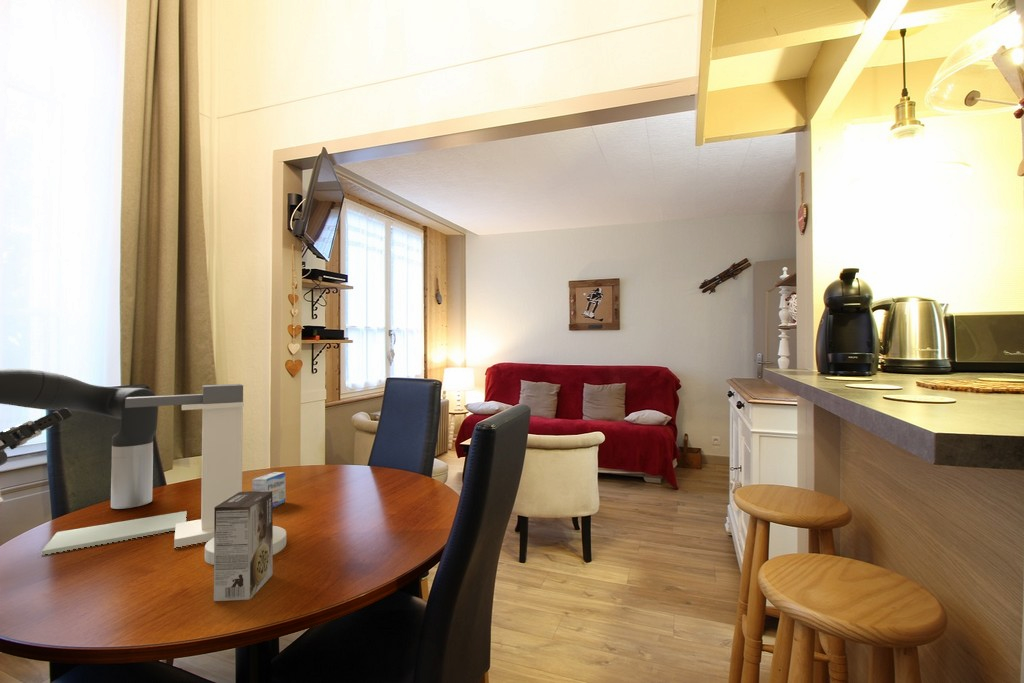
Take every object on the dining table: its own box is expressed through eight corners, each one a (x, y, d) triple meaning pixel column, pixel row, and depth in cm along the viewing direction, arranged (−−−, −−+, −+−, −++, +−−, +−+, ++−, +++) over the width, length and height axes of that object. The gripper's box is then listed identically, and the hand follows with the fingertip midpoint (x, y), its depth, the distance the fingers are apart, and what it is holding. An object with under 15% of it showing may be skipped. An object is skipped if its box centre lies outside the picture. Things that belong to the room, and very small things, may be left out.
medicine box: (266, 511, 125) (266, 479, 125) (251, 510, 126) (252, 478, 126) (285, 502, 133) (286, 472, 133) (272, 501, 133) (272, 471, 134)
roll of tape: (300, 547, 102) (300, 533, 102) (225, 574, 89) (226, 559, 89) (263, 532, 111) (264, 520, 111) (191, 555, 98) (191, 542, 98)
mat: (56, 536, 109) (56, 532, 109) (186, 514, 123) (186, 510, 123) (42, 555, 98) (42, 550, 98) (186, 529, 112) (186, 525, 112)
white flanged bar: (175, 531, 111) (177, 402, 112) (243, 519, 119) (244, 398, 120) (174, 548, 101) (175, 406, 102) (247, 534, 109) (248, 402, 110)
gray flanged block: (128, 405, 105) (128, 388, 105) (240, 399, 117) (240, 383, 118) (124, 408, 98) (124, 389, 98) (243, 401, 111) (243, 385, 111)
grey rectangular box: (238, 576, 88) (239, 491, 88) (273, 575, 88) (274, 489, 89) (211, 602, 78) (212, 506, 79) (250, 600, 79) (251, 505, 79)
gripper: (-70, 451, 81) (44, 400, 89) (-37, 440, 93) (61, 396, 101) (-39, 485, 83) (69, 432, 91) (-10, 470, 95) (83, 424, 103)
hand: (65, 413), depth 96 cm, fingers open, 8 cm apart
